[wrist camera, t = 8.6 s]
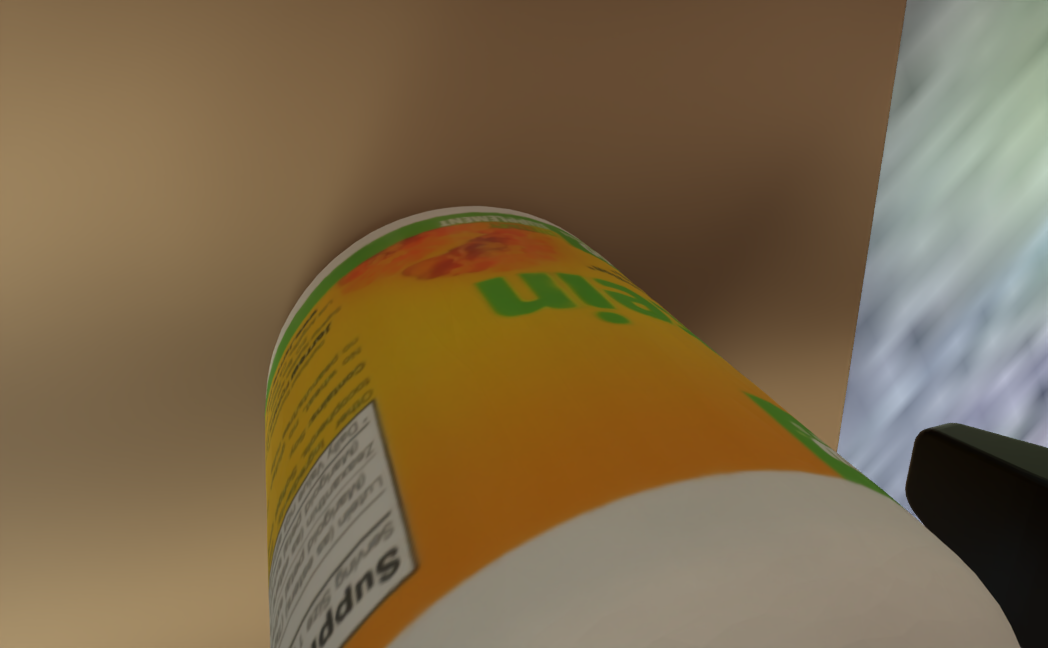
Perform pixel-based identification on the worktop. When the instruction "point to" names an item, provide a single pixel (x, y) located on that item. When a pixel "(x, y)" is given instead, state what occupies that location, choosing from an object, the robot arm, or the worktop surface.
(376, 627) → the supplement bottle
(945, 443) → the robot arm
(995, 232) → the worktop surface
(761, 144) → the walnut base
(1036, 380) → the worktop surface
